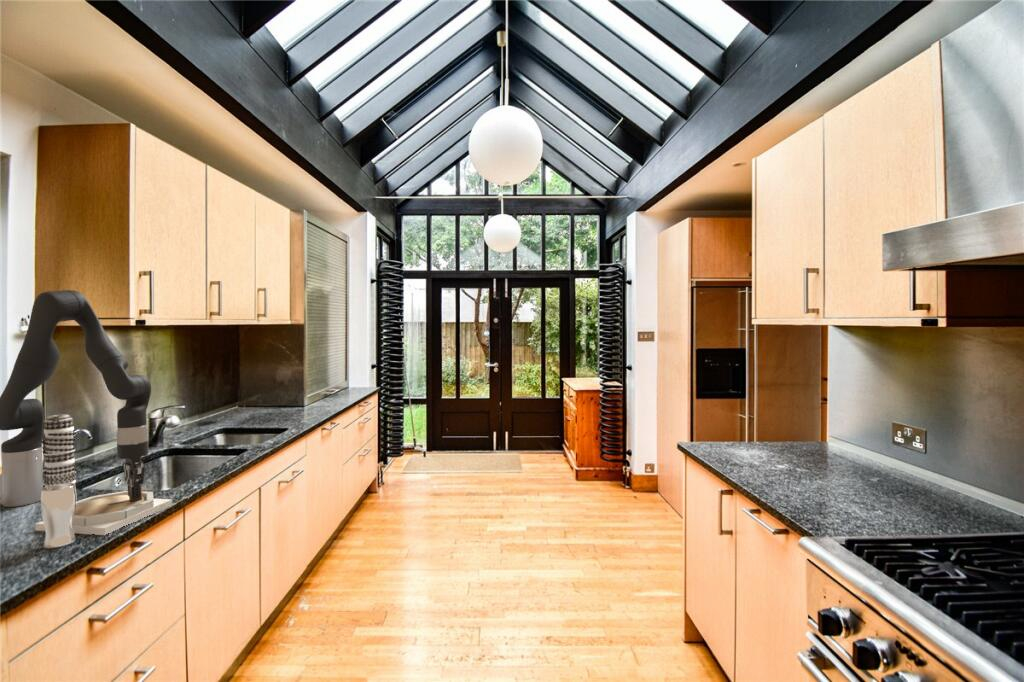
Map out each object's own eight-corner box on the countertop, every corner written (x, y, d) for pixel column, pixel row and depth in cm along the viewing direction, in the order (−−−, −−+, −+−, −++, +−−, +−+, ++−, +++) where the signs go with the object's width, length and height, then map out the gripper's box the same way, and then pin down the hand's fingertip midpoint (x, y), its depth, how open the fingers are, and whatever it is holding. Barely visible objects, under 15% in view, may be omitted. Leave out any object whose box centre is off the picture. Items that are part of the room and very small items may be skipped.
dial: (65, 526, 131) (64, 499, 131) (73, 507, 145) (73, 482, 145) (143, 512, 142) (142, 486, 141) (144, 495, 155) (144, 472, 155)
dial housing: (35, 530, 134) (35, 515, 134) (111, 502, 156) (111, 488, 156) (104, 535, 131) (104, 519, 131) (172, 505, 153) (171, 492, 153)
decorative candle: (84, 480, 177) (83, 413, 177) (57, 489, 168) (55, 418, 167) (63, 479, 179) (61, 412, 178) (35, 487, 169) (33, 417, 169)
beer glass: (57, 537, 129) (55, 482, 129) (84, 537, 130) (83, 482, 130) (33, 549, 122) (32, 491, 122) (63, 548, 123) (61, 490, 123)
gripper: (111, 440, 148) (113, 496, 148) (123, 446, 139) (125, 505, 139) (141, 436, 154) (142, 489, 154) (154, 441, 145) (156, 498, 145)
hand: (134, 496), depth 147 cm, fingers closed on dial, 3 cm apart
